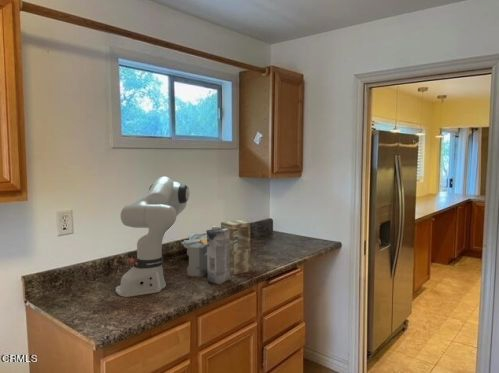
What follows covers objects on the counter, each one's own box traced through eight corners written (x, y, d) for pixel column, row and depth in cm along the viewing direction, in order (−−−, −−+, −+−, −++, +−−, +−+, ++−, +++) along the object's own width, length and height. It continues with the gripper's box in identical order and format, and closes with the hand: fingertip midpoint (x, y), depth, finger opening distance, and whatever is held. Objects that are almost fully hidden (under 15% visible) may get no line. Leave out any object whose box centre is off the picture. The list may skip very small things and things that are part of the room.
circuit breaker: (214, 277, 190) (213, 248, 189) (187, 275, 193) (187, 246, 192) (218, 272, 198) (218, 244, 196) (192, 271, 201) (192, 243, 199)
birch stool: (231, 275, 194) (231, 225, 192) (221, 270, 202) (220, 222, 200) (250, 270, 201) (250, 222, 199) (240, 266, 209) (239, 219, 207)
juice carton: (232, 279, 187) (231, 225, 185) (219, 285, 178) (218, 229, 176) (217, 276, 191) (217, 224, 189) (204, 282, 183) (204, 227, 180)
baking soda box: (231, 254, 234) (231, 229, 233) (224, 252, 238) (224, 227, 237) (242, 251, 241) (242, 227, 239) (235, 250, 245) (235, 225, 244)
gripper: (179, 237, 228) (189, 242, 217) (209, 233, 240) (220, 237, 229) (179, 248, 229) (190, 252, 218) (209, 243, 241) (220, 247, 229)
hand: (205, 244), depth 223 cm, fingers closed on orange bar, 4 cm apart
